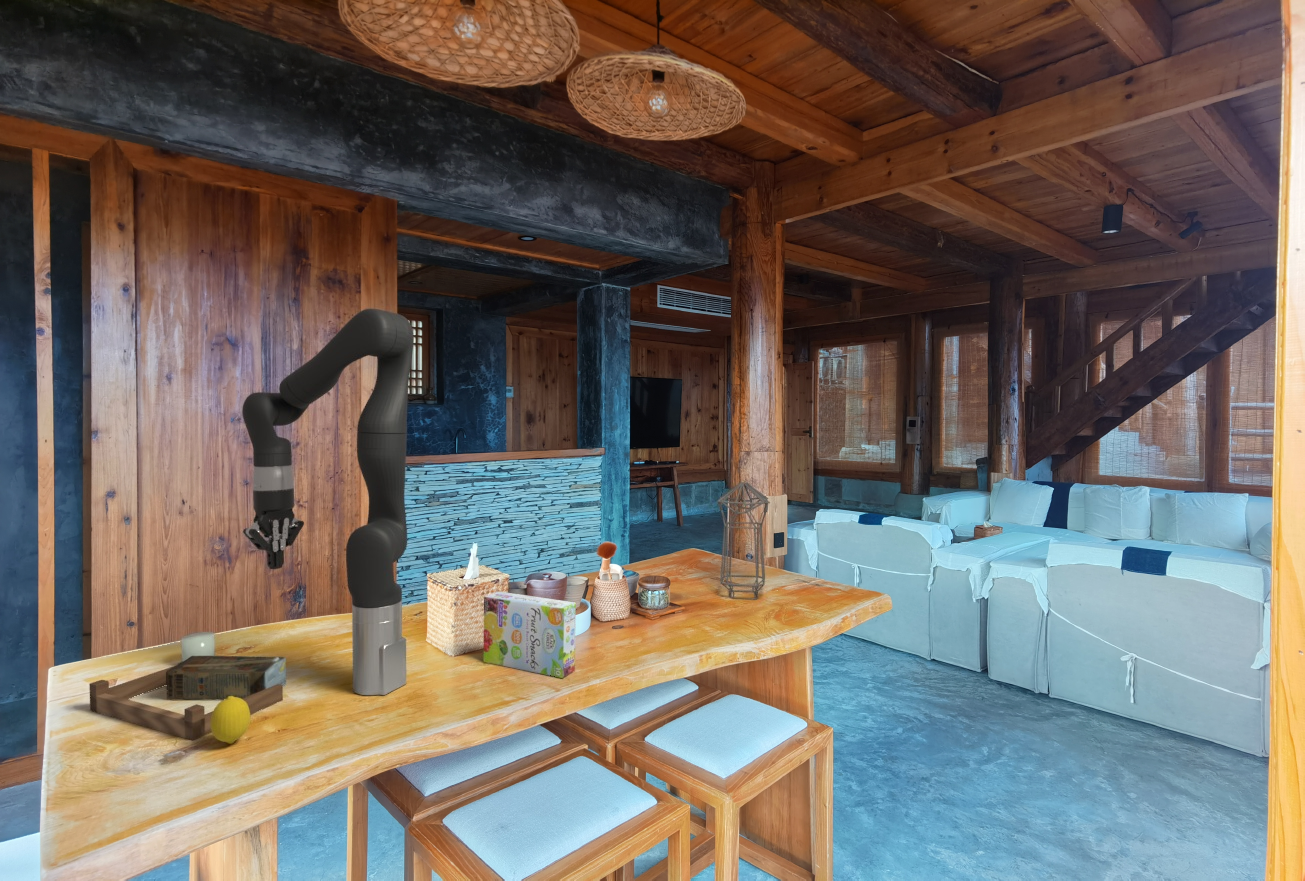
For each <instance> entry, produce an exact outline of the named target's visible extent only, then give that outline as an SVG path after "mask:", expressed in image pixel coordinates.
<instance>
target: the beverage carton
mask: <svg viewBox="0 0 1305 881" xmlns="http://www.w3.org/2000/svg"><path fill="white" fill-rule="evenodd" d="M286 664H287V658H286V657H285V656H254V655H253V656H250V655H249V656H248V655H247V656H245V655H215V656H191V657H189V658H188V659H186V660H185V661H183V662H182V661H181V662H178V664H176V665H173V666H174V667H173V666H171V667H172V668H170V667H169V668H170V669H169V670H167V671H166V684H167V686H165V687H166V700H167V699H227V698H228V697H229V696H233V697H238V698H241V699H243V698H245V697H248V696H250V695H252V694H255V693H257V692H260V691H262V690H264V689H267V688H269V687H272V686H274V685H276V684H281V685H283V687H284V686H285V685H286V684H287V670H286V669H287V668H286V666H287V665H286Z"/></svg>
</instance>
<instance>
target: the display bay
mask: <svg viewBox="0 0 1305 881" xmlns="http://www.w3.org/2000/svg"><path fill="white" fill-rule="evenodd" d="M174 666H175V665H172V666H171V667H170V666H169V667H167V668H164V669H162V670H159V671H155V672H152V673H150V674H146V675H144V676H140V677H138V678H134V679H131V680H129V681H126V682H123V683H120V684H117V685H113V686H111V687H109V686H110V681H108V680H105V679H99V680H97V681H93V682H90V683H89V686H88V687H89V711H90V710H92V711H91V712H94V711H95V712H94V713H97V712H99V713H98V714H101V713H102V714H101V715H104V714H105V716H107V715H108V716H109V717H111V716H112V717H111V718H114V717H115V718H114V719H118V718H119V719H118V720H122V721H124V722H128V723H131V724H135V725H139V726H141V727H142V726H143V727H146V728H149V729H152V730H156V731H159V732H163V733H166V734H169V735H173V736H176V737H180V738H182V739H187V740H189V741H195V740H196V739H199V738H202V737H204V736H207V735H208V734H211V733H212V731H211V718H212V714H213V711H214V710H211V711H210V712H207V713H205V706H204V705H200V704H197V703H196V704H194V705H191V706H188V707H185V708H184V713H179V712H175V711H172V710H168V709H165V708H161V707H157V706H153V705H149V704H147V703H142V702H139V701H135V700H131V699H133V698H135V697H134V696H136V697H138V696H137V695H139V696H141V695H140V694H142V693H144V694H147V693H149V692H148V691H150V692H152V691H151V690H153V691H155V690H154V689H156V688H158V689H160V688H159V687H161V688H163V687H162V686H164V685H167V684H166V671H167V670H169V669H170V668H172V667H174ZM164 687H165V686H164ZM283 688H284V686H283V685H281V684H276V685H274V686H272V687H269V688H267V689H264V690H262V691H260V692H257V693H255V694H252V695H250V696H248V697H245V698H243V700H244V701H245V702H246V703H247V705H248V707H249V711H250V716H251V715H253V714H255V713H258V712H259V710H260V711H262V710H264V709H266V707H267V708H268V707H270V706H273V705H275V704H277V702H278V703H279V702H283V700H284V699H283V698H284V695H283V693H284V692H283V691H284V689H283ZM156 690H157V689H156ZM146 692H147V693H146ZM142 695H143V694H142ZM132 697H133V698H132ZM129 698H131V699H129ZM261 709H262V710H261ZM257 711H258V712H257ZM252 713H253V714H252ZM108 716H107V717H108Z"/></svg>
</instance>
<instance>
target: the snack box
mask: <svg viewBox="0 0 1305 881" xmlns="http://www.w3.org/2000/svg"><path fill="white" fill-rule="evenodd" d="M576 605H577V603H576V602H575V601H574V602H573V601H567V600H559V599H553V598H547V597H546V598H545V597H542V596H541V597H540V596H534V595H533V596H532V595H527V594H518V593H514V592H513V593H511V592H505V591H495V592H493V593H490V594H487V595H485V596H484V597H483V658H482V659H483V662H484V663H488V664H493V665H498V666H502V667H507V668H511V669H517V670H522V671H525V672H530V673H535V674H539V675H540V674H541V675H545V676H546V675H547V676H550V675H551V676H550V677H554V676H555V678H558V679H564V678H565V677H567V676H568V675H570V674H572V673H573V671H574V672H575V671H576V620H577V619H576V615H577V614H576V612H577V611H576V610H577V609H576V608H577V607H576ZM571 672H572V673H571ZM566 675H567V676H566Z"/></svg>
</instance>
